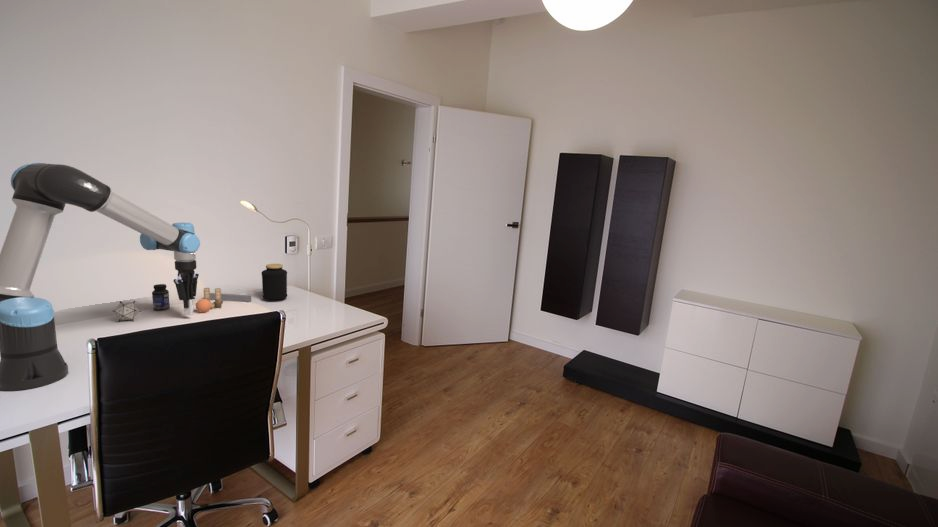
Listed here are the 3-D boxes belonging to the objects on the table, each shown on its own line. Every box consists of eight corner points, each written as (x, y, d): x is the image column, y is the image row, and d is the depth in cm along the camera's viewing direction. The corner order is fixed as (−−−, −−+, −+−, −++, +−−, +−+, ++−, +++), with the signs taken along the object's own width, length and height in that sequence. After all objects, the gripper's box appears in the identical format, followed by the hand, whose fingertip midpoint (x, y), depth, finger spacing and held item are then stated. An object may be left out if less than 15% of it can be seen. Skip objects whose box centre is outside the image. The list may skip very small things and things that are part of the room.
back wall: (249, 302, 214) (249, 296, 213) (204, 299, 214) (204, 293, 213) (251, 301, 216) (251, 295, 215) (207, 298, 216) (206, 292, 215)
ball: (215, 304, 199) (210, 315, 195) (202, 304, 199) (196, 314, 195) (210, 296, 195) (204, 306, 191) (197, 295, 195) (190, 306, 191)
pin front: (212, 304, 200) (223, 299, 208) (207, 303, 199) (218, 298, 208) (212, 309, 200) (222, 304, 209) (207, 308, 200) (217, 303, 209)
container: (259, 297, 222) (258, 263, 219) (283, 295, 229) (284, 262, 226) (264, 304, 213) (264, 268, 209) (290, 301, 220) (290, 266, 216)
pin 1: (208, 308, 201) (207, 289, 200) (203, 307, 201) (202, 288, 200) (211, 306, 204) (210, 287, 202) (206, 306, 204) (205, 287, 202)
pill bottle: (167, 310, 195) (166, 286, 193) (151, 311, 192) (149, 287, 190) (171, 306, 200) (169, 283, 198) (155, 307, 198) (153, 283, 196)
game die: (129, 330, 179) (121, 316, 172) (112, 321, 180) (103, 306, 173) (148, 315, 185) (141, 301, 178) (132, 306, 186) (124, 291, 179)
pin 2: (219, 308, 201) (218, 289, 200) (214, 308, 201) (213, 289, 200) (222, 307, 204) (221, 288, 202) (217, 306, 204) (216, 288, 202)
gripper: (184, 263, 174) (187, 319, 179) (203, 257, 187) (206, 310, 192) (165, 262, 174) (169, 318, 179) (186, 256, 187) (189, 309, 192)
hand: (188, 314), depth 185 cm, fingers closed
